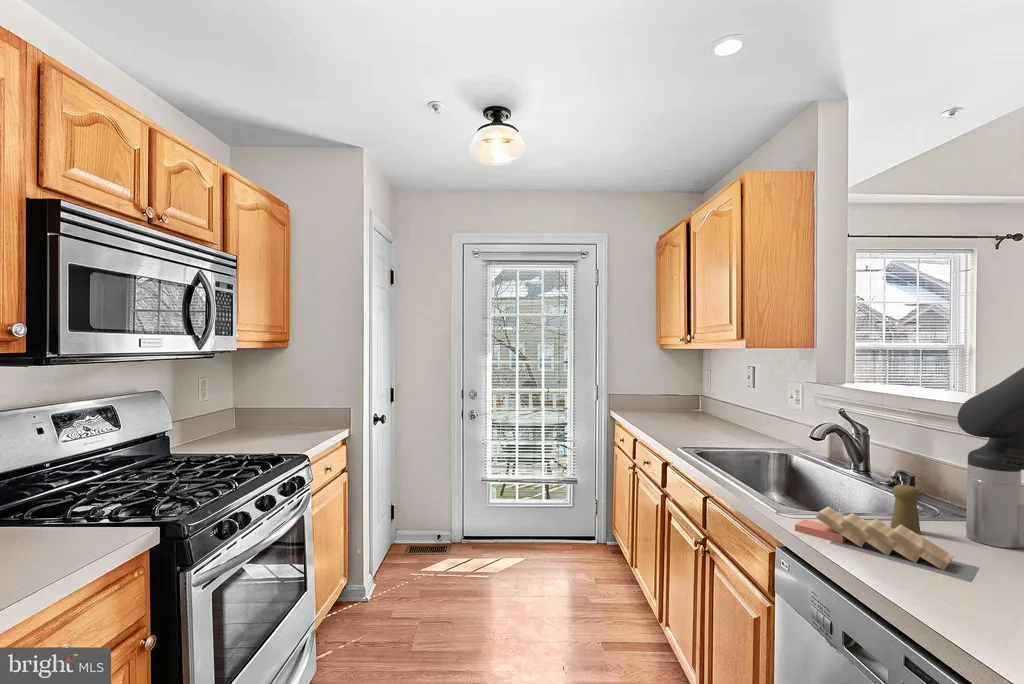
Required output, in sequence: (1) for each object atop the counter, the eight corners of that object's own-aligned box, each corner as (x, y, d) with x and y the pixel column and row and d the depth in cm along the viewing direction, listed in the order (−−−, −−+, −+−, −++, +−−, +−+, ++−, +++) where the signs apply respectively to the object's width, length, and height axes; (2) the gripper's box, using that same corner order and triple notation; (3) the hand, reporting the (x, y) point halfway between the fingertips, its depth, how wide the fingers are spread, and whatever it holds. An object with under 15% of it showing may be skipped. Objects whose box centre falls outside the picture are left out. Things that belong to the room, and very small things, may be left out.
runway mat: (979, 569, 105) (979, 567, 105) (970, 583, 99) (970, 581, 99) (844, 534, 123) (844, 533, 123) (829, 544, 117) (829, 543, 117)
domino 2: (873, 534, 117) (828, 506, 124) (865, 540, 113) (819, 511, 120) (869, 540, 118) (824, 512, 125) (861, 547, 114) (815, 517, 121)
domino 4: (926, 549, 110) (876, 518, 117) (920, 556, 106) (867, 524, 113) (922, 555, 111) (872, 525, 117) (915, 563, 107) (863, 531, 114)
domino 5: (954, 556, 107) (900, 524, 114) (948, 563, 103) (892, 530, 110) (949, 562, 107) (896, 530, 114) (943, 570, 103) (888, 537, 110)
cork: (926, 536, 123) (927, 490, 123) (897, 534, 124) (898, 488, 124) (912, 527, 129) (913, 483, 129) (885, 525, 130) (885, 481, 130)
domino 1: (851, 529, 121) (804, 519, 128) (842, 535, 117) (794, 524, 124) (851, 537, 120) (804, 526, 128) (842, 543, 117) (795, 532, 124)
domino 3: (900, 542, 114) (852, 512, 120) (892, 549, 110) (843, 518, 116) (895, 548, 114) (848, 518, 121) (888, 555, 110) (839, 524, 117)
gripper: (1134, 447, 91) (1007, 433, 104) (1135, 458, 82) (996, 441, 95) (1133, 489, 92) (1006, 471, 104) (1134, 505, 82) (995, 482, 95)
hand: (1002, 457), depth 99 cm, fingers open, 8 cm apart
